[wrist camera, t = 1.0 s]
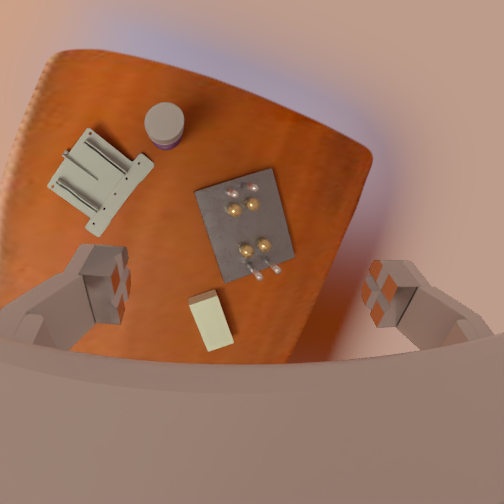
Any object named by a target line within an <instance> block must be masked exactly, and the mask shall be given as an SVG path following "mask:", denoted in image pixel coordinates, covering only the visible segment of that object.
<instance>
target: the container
mask: <svg viewBox="0 0 504 504" xmlns="http://www.w3.org/2000/svg"><path fill="white" fill-rule="evenodd" d="M145 128H146V131H147V133H148V136H149V137H150V139H151V140H152V142H153V143H154V144H155V146H156V147H158V148H159V149H162V150H170V149H173V148H174V147H176V146H177V145H178V144H179V142H180V140H181V137H182V133H183V129H184V115H183V112H182V111H181V109H180V108H179V107H178V106H177V105H175V104H173V103H169V102H163V103H159V104H156V105H155V106H153V107H152V108H151V109H150V110H149V111H148V113H147V114H146V117H145Z"/></svg>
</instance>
